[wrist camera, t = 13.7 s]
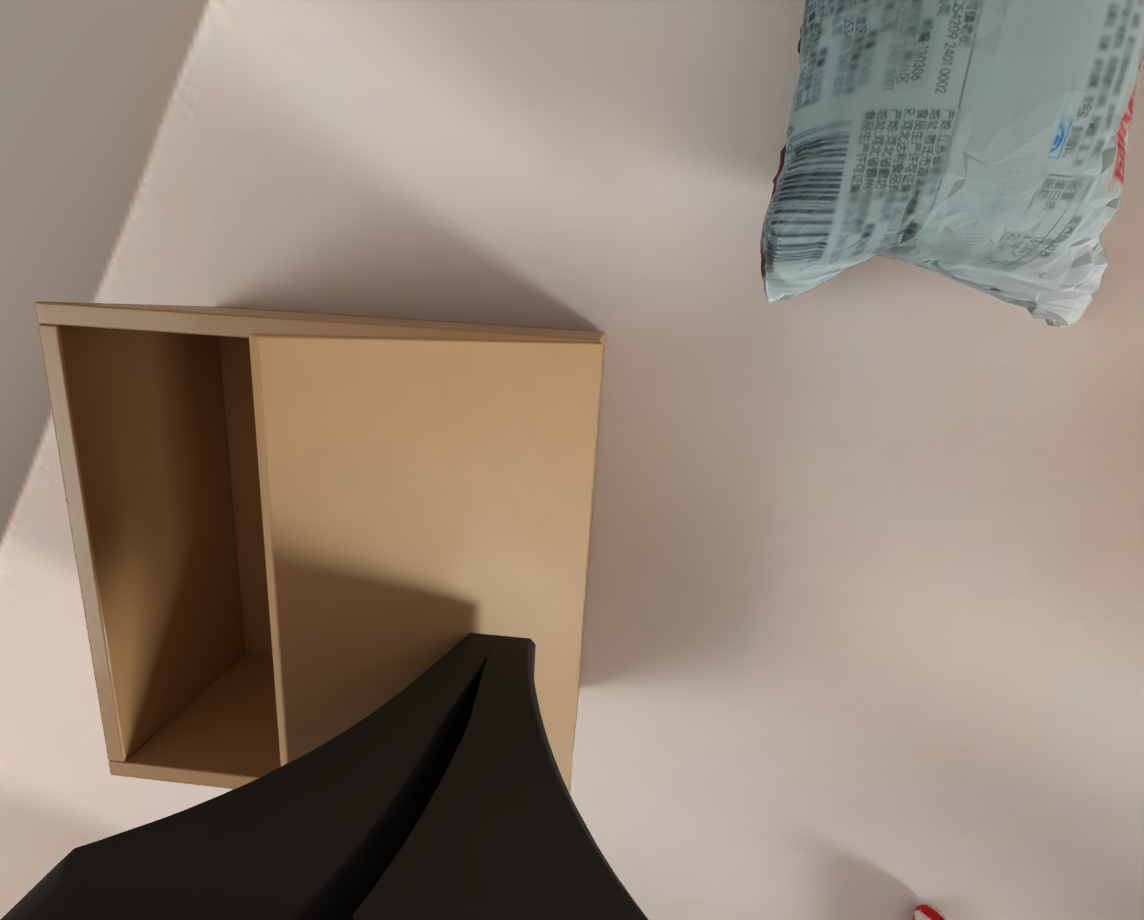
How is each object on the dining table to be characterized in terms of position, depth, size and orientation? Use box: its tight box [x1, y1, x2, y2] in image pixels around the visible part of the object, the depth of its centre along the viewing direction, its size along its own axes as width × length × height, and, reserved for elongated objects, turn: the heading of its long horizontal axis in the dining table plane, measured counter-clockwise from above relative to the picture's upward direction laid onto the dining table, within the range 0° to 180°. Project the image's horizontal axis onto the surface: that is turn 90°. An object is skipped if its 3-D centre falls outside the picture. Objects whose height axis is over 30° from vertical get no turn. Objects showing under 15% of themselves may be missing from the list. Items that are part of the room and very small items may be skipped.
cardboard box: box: [35, 302, 606, 789], centre depth 17 cm, size 13×13×6 cm
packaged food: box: [760, 0, 1144, 328], centre depth 14 cm, size 9×12×5 cm
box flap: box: [249, 333, 603, 794], centre depth 11 cm, size 6×13×1 cm
